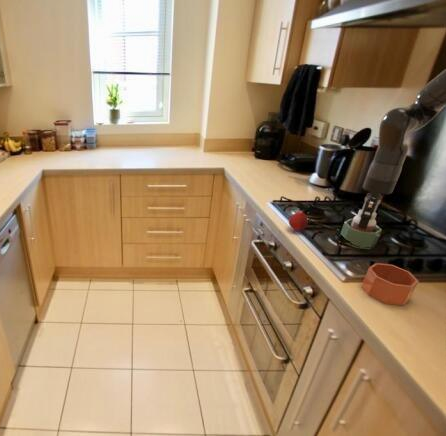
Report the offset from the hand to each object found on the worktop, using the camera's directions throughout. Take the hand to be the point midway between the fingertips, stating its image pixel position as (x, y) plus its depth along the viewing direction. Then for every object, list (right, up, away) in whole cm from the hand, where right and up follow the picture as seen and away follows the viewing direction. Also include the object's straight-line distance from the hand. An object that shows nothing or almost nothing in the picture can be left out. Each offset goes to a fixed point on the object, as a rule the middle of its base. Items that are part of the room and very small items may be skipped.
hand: (363, 224), depth 103 cm
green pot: (0, -6, +3) cm, 7 cm away
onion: (-17, -3, +10) cm, 20 cm away
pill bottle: (0, -6, +3) cm, 7 cm away
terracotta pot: (-9, -18, -19) cm, 28 cm away
